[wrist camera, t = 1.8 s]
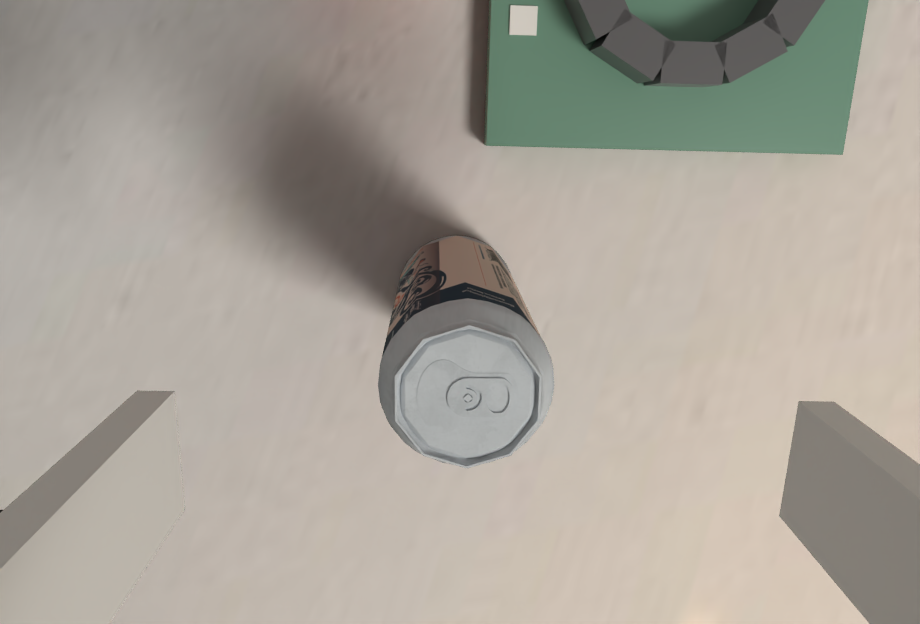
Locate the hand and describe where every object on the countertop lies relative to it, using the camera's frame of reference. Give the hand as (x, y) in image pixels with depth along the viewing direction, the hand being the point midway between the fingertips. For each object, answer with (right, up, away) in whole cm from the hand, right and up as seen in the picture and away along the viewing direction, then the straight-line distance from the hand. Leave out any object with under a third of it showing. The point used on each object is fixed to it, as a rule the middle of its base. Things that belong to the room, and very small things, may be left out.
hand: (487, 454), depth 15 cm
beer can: (-1, +4, +15) cm, 16 cm away
